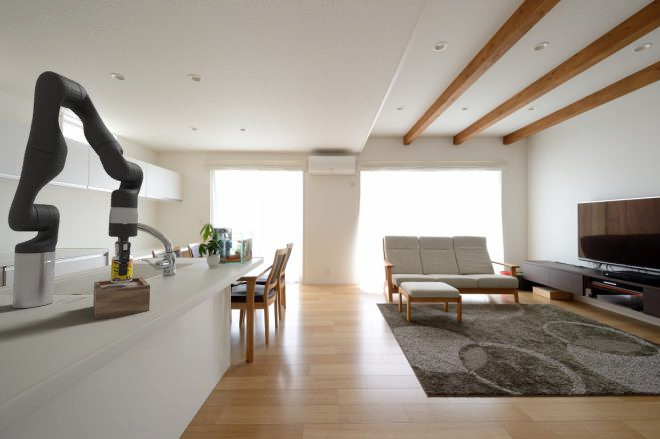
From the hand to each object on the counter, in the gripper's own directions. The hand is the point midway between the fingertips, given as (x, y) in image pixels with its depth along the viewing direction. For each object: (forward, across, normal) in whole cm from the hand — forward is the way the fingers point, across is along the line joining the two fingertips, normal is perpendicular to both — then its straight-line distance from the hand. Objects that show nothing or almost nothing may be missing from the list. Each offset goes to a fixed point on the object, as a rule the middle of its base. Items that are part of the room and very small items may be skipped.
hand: (121, 273), depth 88 cm
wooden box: (+11, 0, 0) cm, 11 cm away
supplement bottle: (+3, 0, 0) cm, 3 cm away
